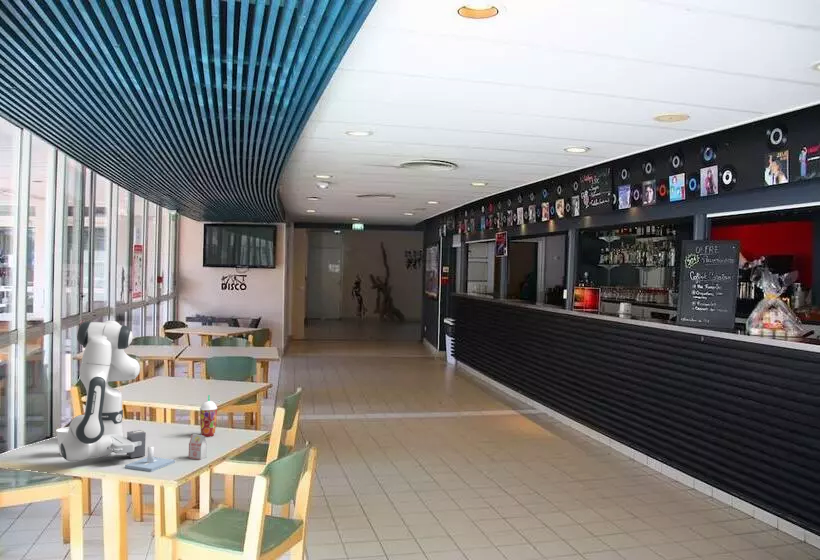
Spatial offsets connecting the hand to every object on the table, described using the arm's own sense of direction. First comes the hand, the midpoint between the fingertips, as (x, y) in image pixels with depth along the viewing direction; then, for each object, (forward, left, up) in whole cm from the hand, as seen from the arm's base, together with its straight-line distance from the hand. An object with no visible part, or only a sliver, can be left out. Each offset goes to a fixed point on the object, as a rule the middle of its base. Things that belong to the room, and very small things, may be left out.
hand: (138, 441), depth 275 cm
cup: (-28, -10, -7) cm, 31 cm away
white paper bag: (+25, +8, -7) cm, 27 cm away
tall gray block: (0, -1, -6) cm, 6 cm away
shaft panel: (+14, -9, -6) cm, 18 cm away
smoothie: (+5, +43, -7) cm, 44 cm away
